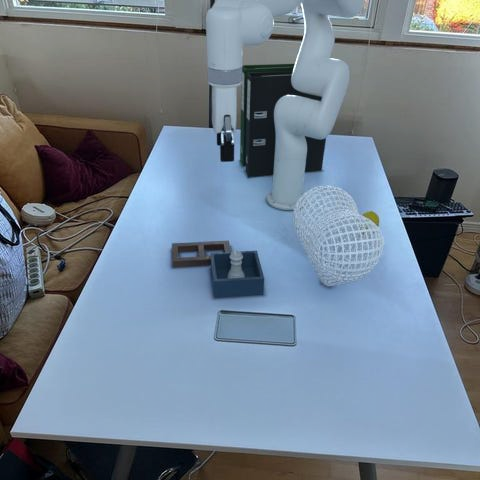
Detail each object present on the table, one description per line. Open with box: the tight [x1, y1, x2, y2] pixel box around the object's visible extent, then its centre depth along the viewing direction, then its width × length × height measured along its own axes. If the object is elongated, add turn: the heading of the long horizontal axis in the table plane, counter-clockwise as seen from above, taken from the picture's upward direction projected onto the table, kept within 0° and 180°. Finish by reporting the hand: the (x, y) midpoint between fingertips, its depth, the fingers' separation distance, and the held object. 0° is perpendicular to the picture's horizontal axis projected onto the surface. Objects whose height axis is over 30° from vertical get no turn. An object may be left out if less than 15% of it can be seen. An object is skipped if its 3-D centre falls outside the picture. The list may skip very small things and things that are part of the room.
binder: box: [239, 63, 327, 178], centre depth 159 cm, size 27×15×32 cm, turn 102°
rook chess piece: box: [227, 250, 245, 279], centre depth 115 cm, size 4×4×8 cm
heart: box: [292, 185, 385, 287], centre depth 111 cm, size 28×16×22 cm, turn 14°
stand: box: [171, 240, 232, 269], centre depth 125 cm, size 9×16×2 cm, turn 97°
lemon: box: [360, 210, 380, 237], centre depth 133 cm, size 6×6×8 cm
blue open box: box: [209, 250, 265, 299], centre depth 116 cm, size 12×12×5 cm
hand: (225, 152), depth 113 cm, fingers open, 9 cm apart
